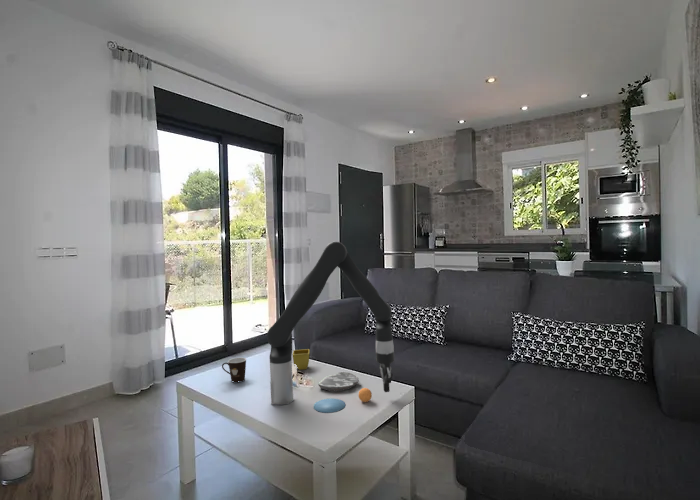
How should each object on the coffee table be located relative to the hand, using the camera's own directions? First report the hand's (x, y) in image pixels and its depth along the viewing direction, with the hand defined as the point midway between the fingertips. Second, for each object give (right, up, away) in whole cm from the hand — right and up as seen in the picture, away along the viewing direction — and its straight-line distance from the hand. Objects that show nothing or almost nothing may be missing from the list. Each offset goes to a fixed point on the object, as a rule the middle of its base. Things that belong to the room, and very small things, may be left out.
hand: (386, 391), depth 159 cm
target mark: (-24, -4, -4) cm, 24 cm away
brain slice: (-20, -4, +18) cm, 27 cm away
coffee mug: (-72, -6, +30) cm, 79 cm away
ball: (-9, -1, -2) cm, 9 cm away
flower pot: (-41, -4, +44) cm, 60 cm away
